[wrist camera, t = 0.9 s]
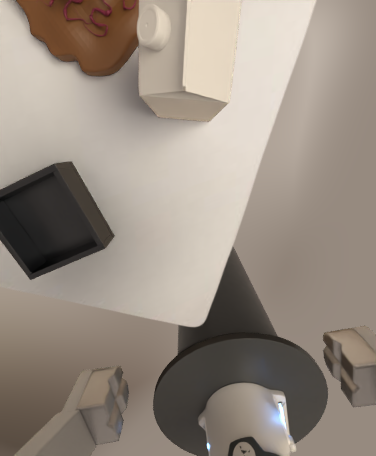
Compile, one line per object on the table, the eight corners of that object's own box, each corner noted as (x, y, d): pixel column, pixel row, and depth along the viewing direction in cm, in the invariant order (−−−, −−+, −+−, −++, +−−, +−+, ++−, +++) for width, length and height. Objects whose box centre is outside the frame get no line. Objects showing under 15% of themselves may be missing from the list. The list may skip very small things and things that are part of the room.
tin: (114, 236, 38) (105, 248, 33) (48, 264, 39) (30, 280, 35) (71, 161, 34) (54, 163, 29) (-1, 196, 35) (-28, 203, 31)
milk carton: (215, 61, 30) (261, -64, 12) (209, 122, 32) (241, 91, 15) (160, 56, 30) (123, -79, 12) (158, 117, 32) (125, 81, 14)
